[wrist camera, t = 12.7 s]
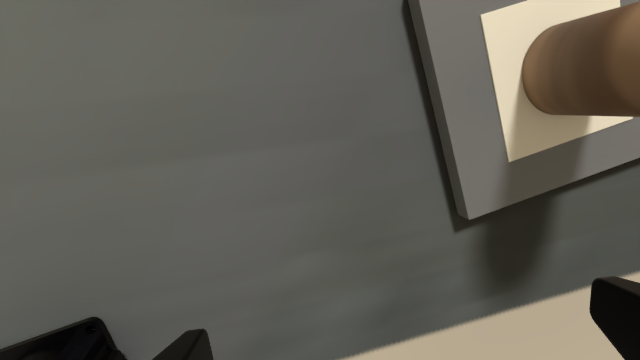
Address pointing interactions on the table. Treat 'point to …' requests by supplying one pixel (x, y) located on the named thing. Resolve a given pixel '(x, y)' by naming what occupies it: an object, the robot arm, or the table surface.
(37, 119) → the table surface
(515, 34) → the grey flat block
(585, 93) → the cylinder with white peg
